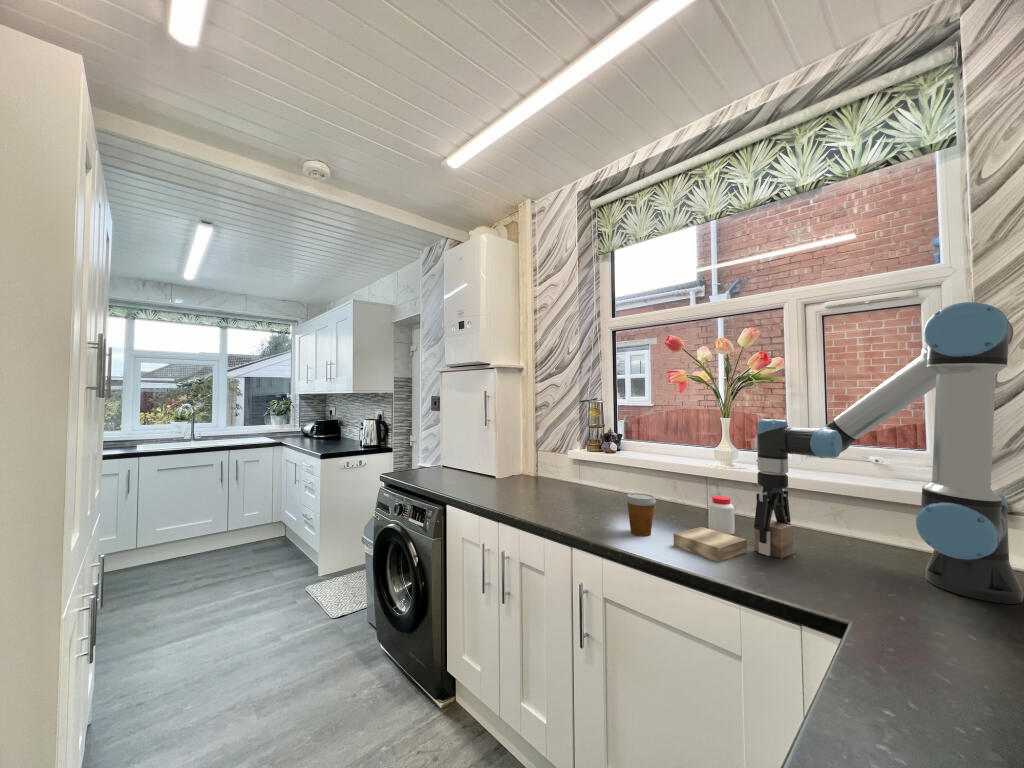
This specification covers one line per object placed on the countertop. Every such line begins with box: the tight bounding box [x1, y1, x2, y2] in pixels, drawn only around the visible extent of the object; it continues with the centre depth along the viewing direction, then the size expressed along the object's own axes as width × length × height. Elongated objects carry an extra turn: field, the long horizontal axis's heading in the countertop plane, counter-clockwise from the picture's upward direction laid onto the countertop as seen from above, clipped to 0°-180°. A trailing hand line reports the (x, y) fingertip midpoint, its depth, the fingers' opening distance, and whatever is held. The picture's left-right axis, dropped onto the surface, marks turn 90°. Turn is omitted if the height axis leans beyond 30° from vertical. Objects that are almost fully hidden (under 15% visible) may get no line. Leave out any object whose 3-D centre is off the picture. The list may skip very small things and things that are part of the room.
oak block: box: [673, 526, 748, 563], centre depth 119 cm, size 14×14×4 cm
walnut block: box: [754, 520, 794, 559], centre depth 118 cm, size 7×7×8 cm
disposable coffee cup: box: [625, 492, 657, 537], centre depth 133 cm, size 10×10×12 cm
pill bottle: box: [707, 495, 735, 535], centre depth 137 cm, size 8×8×11 cm
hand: (773, 550), depth 118 cm, fingers open, 9 cm apart
